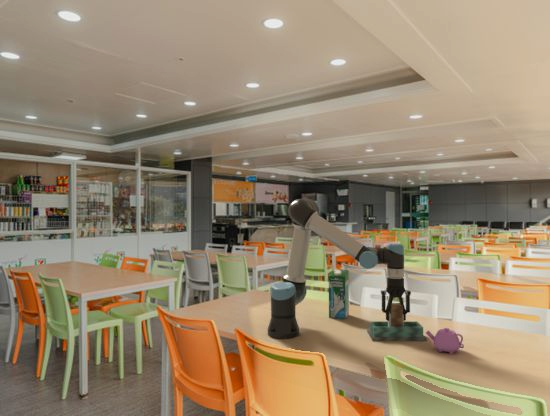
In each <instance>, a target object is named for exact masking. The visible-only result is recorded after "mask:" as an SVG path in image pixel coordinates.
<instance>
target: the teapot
mask: <svg viewBox="0 0 550 416" xmlns="http://www.w3.org/2000/svg"><path fill="white" fill-rule="evenodd" d="M425 334H426V335H427V336H428V337H429V338H430V339H431V340H432V342H433V346H434V347H435V349H436V350H437V352H438V351H439V352H438V353H443V352H447V353H448V354H450V353H451V355H454V354H455V352H458V350H459V349H464V348H465V344H463V342H464V337H463V335H462V334H461V333H457V332H456V331H455V330H452V329H450V328H449V327H443V328H440V329H439V330H438V331H437V332H436V333H435V336H434V335H433V334H432V332H431V331H429V330H427V331H426V332H425ZM458 336H459V337H460V339H459V337H458ZM453 353H454V354H453Z"/></svg>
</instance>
